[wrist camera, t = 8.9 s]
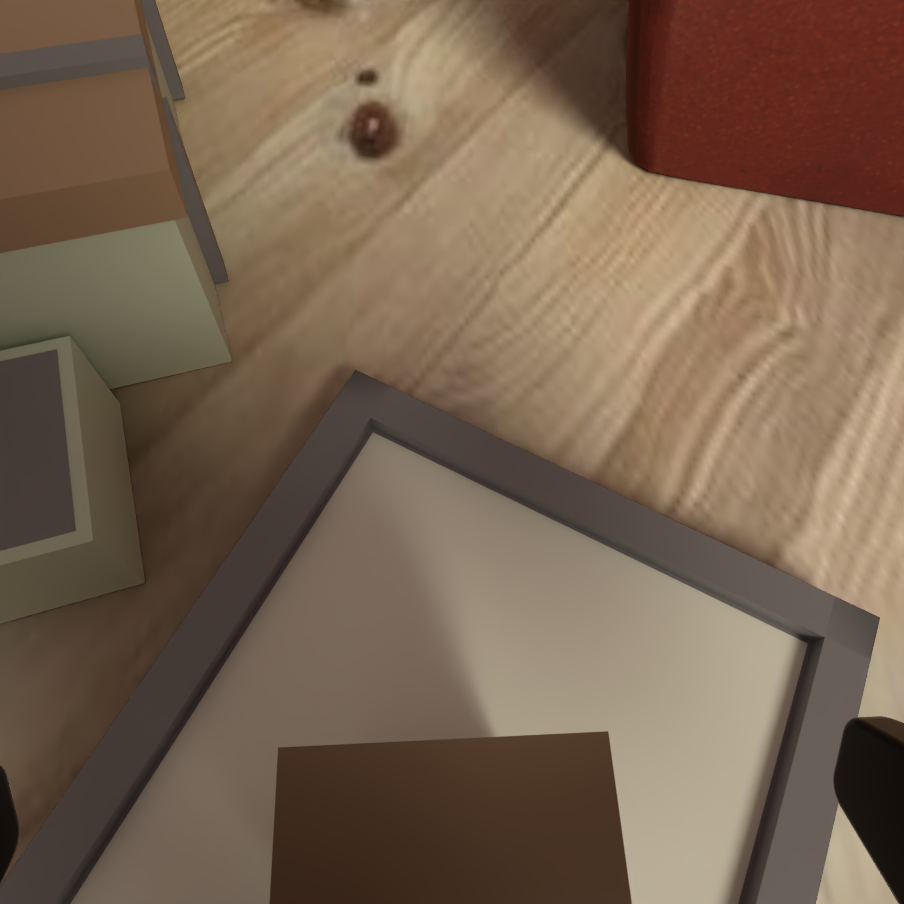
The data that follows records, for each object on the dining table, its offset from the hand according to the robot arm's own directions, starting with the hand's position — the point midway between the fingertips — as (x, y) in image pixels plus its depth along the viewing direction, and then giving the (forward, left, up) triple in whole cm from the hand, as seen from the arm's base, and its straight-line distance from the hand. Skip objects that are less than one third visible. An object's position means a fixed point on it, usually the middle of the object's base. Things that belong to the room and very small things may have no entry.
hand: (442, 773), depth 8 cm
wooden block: (-1, +1, -7) cm, 7 cm away
